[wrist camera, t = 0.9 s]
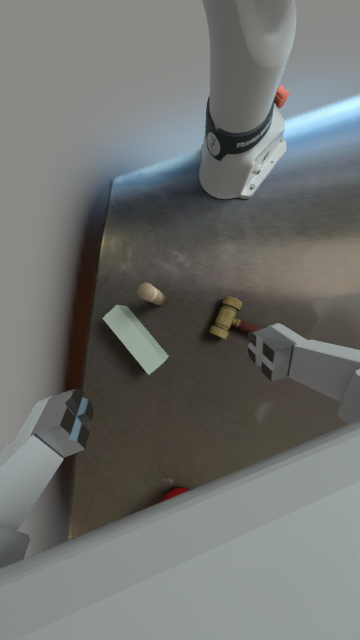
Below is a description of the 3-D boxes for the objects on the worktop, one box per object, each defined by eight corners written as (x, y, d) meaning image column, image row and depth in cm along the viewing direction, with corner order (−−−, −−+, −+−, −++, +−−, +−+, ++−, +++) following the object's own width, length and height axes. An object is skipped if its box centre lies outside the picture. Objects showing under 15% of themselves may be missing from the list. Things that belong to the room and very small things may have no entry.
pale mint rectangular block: (127, 306, 47) (117, 304, 41) (168, 356, 45) (164, 361, 39) (114, 318, 47) (102, 318, 41) (155, 367, 46) (148, 375, 40)
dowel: (161, 291, 46) (146, 279, 32) (169, 300, 45) (157, 291, 32) (153, 299, 46) (134, 290, 32) (160, 308, 46) (144, 302, 32)
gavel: (309, 331, 39) (291, 369, 40) (296, 329, 44) (280, 363, 44) (227, 294, 40) (210, 332, 40) (223, 296, 44) (207, 331, 45)
